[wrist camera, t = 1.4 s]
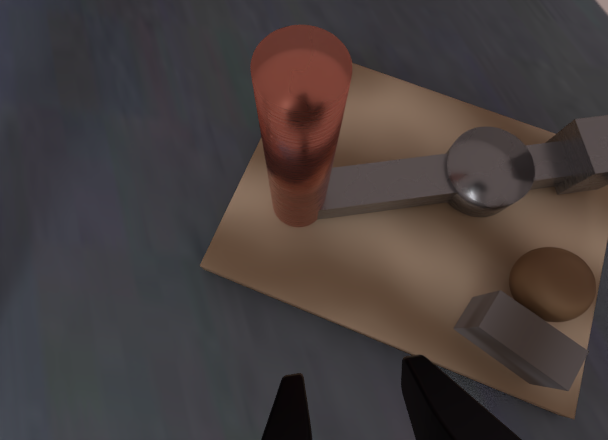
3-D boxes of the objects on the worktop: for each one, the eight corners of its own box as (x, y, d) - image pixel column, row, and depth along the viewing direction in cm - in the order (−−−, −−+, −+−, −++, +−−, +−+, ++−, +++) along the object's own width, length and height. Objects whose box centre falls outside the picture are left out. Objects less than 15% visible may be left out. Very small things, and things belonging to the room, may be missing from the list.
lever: (576, 130, 24) (816, -50, 13) (602, 201, 22) (893, 68, 12) (267, 168, 23) (242, 7, 12) (277, 245, 21) (259, 144, 10)
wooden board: (558, 415, 21) (622, 432, 17) (204, 269, 22) (184, 254, 18) (607, 165, 25) (667, 132, 21) (304, 59, 27) (306, 8, 23)
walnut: (556, 334, 21) (608, 333, 17) (488, 308, 21) (526, 301, 18) (570, 270, 22) (621, 256, 18) (504, 245, 22) (543, 227, 19)
